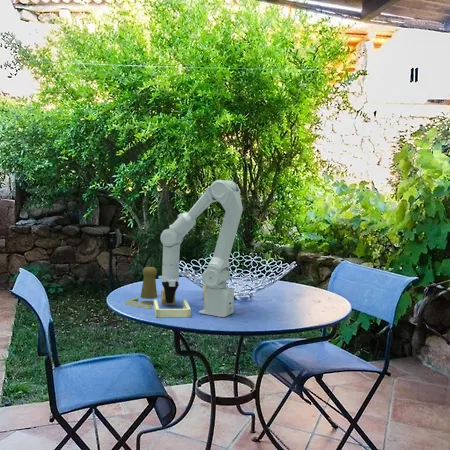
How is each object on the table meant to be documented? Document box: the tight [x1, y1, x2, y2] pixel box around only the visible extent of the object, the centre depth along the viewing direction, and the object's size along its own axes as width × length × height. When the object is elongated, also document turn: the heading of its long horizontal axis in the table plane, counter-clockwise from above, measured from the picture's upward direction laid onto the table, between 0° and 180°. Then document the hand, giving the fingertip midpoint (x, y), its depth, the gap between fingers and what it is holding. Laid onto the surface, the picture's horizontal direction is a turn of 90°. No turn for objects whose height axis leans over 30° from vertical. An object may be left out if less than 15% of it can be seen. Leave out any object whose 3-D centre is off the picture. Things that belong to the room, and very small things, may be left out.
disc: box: [141, 300, 154, 306], centre depth 174 cm, size 6×6×1 cm
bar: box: [124, 297, 153, 310], centre depth 171 cm, size 10×6×2 cm, turn 63°
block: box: [160, 288, 176, 305], centre depth 176 cm, size 4×4×4 cm
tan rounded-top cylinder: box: [202, 284, 205, 301], centre depth 185 cm, size 5×5×5 cm
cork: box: [140, 266, 158, 300], centre depth 184 cm, size 6×6×11 cm
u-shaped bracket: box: [152, 299, 192, 319], centre depth 165 cm, size 13×11×2 cm
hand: (169, 302), depth 172 cm, fingers closed
